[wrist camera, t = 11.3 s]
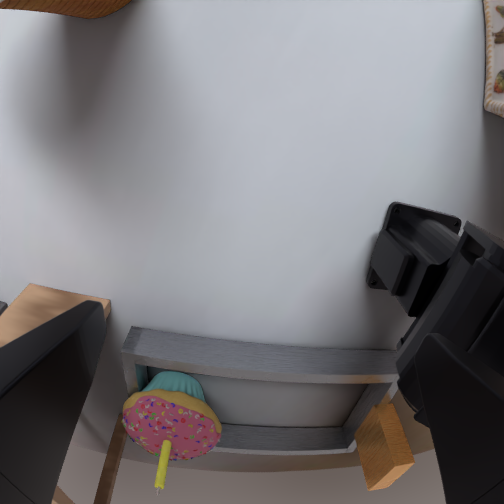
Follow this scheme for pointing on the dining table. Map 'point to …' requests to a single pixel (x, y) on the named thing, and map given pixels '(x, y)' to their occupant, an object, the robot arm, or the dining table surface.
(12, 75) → the dining table surface
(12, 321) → the small wooden table
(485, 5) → the decorative jar
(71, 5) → the disposable coffee cup
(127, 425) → the cupcake
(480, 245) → the robot arm
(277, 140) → the dining table surface
